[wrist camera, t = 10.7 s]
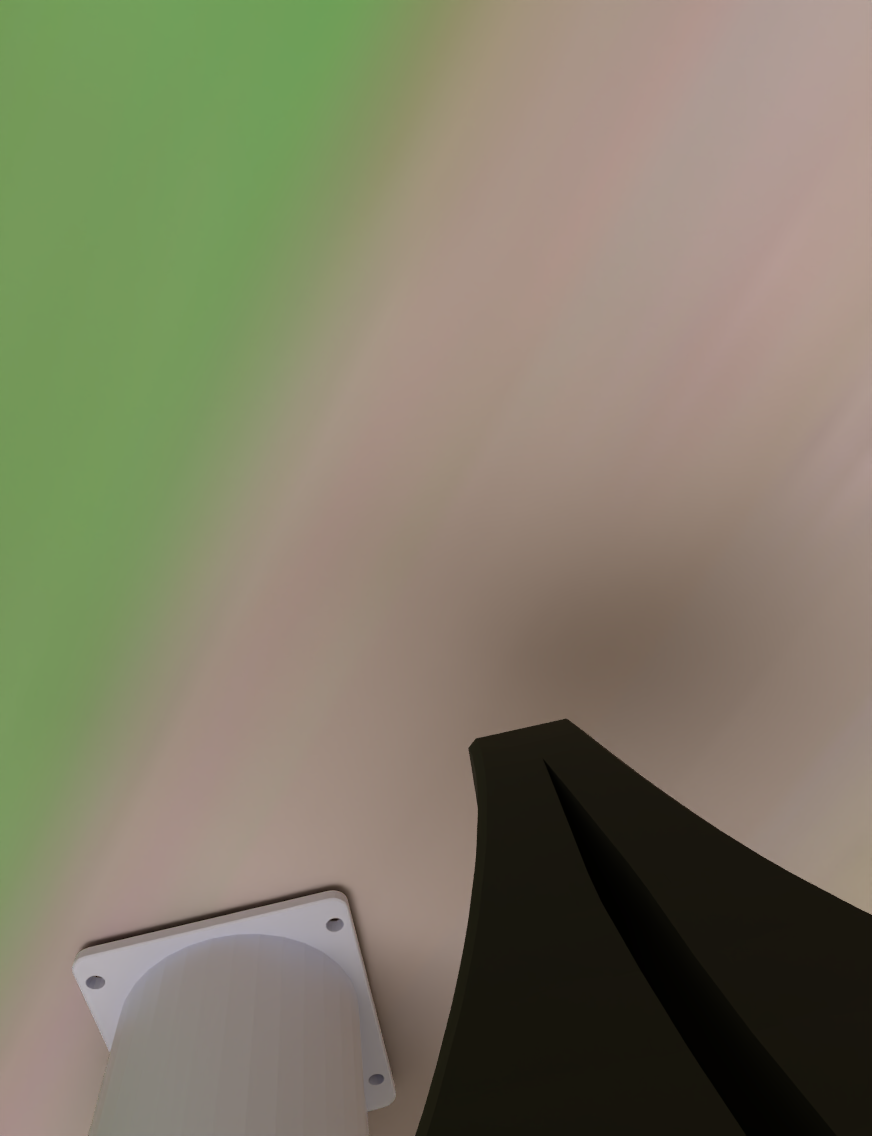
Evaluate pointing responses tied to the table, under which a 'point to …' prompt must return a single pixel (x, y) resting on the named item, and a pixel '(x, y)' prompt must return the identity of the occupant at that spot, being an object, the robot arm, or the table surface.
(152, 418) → the table surface
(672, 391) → the table surface
